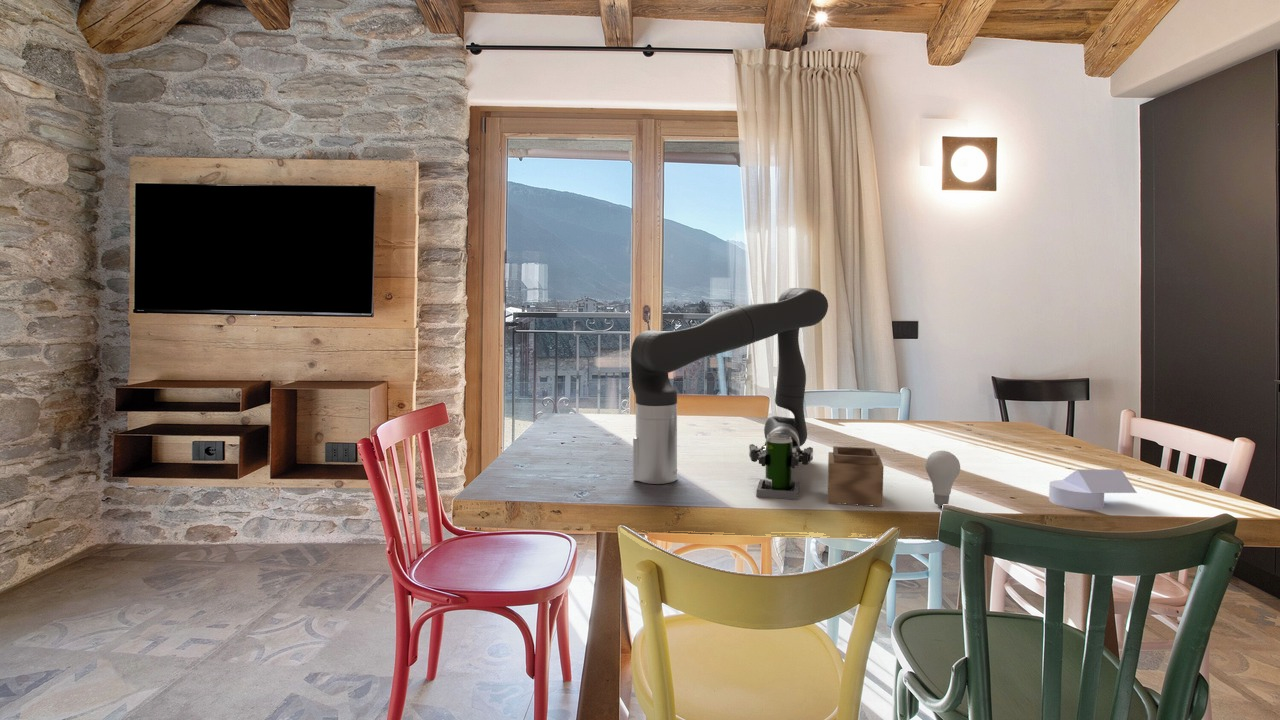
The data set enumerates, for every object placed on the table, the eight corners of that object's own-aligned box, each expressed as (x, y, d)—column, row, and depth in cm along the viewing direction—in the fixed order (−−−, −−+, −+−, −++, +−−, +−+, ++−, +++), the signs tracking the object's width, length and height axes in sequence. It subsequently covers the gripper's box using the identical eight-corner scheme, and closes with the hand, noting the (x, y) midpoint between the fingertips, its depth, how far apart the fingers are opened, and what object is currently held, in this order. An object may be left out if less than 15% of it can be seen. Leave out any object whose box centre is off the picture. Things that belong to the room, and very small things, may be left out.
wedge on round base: (1103, 496, 135) (1039, 496, 135) (1105, 463, 135) (1040, 463, 135) (1135, 510, 126) (1067, 510, 126) (1138, 475, 126) (1069, 475, 126)
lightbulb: (956, 503, 130) (958, 448, 129) (960, 513, 124) (962, 455, 124) (922, 500, 132) (924, 446, 131) (925, 510, 126) (927, 453, 125)
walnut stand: (828, 503, 131) (829, 455, 130) (827, 489, 140) (828, 445, 140) (882, 507, 128) (883, 458, 127) (877, 492, 138) (879, 447, 137)
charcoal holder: (756, 496, 135) (756, 489, 135) (759, 485, 143) (759, 479, 143) (797, 499, 133) (798, 492, 133) (798, 488, 141) (799, 481, 141)
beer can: (778, 497, 134) (779, 439, 133) (759, 491, 139) (760, 435, 138) (797, 493, 137) (798, 436, 136) (778, 487, 142) (779, 432, 141)
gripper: (750, 427, 153) (742, 442, 137) (815, 430, 149) (815, 446, 133) (750, 459, 154) (742, 478, 137) (814, 463, 150) (814, 482, 134)
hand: (778, 462), depth 135 cm, fingers closed on beer can, 5 cm apart
